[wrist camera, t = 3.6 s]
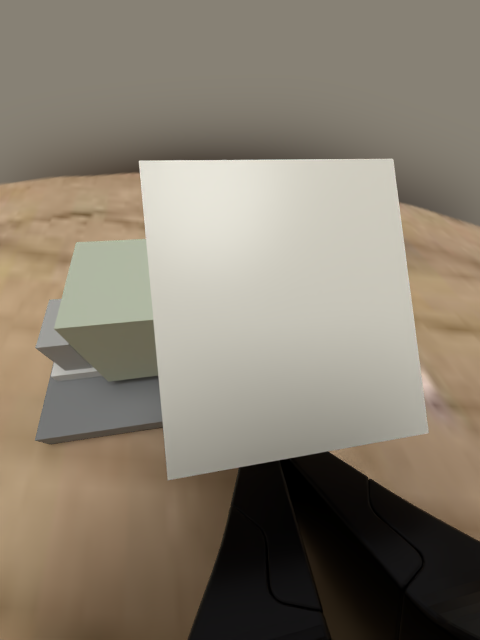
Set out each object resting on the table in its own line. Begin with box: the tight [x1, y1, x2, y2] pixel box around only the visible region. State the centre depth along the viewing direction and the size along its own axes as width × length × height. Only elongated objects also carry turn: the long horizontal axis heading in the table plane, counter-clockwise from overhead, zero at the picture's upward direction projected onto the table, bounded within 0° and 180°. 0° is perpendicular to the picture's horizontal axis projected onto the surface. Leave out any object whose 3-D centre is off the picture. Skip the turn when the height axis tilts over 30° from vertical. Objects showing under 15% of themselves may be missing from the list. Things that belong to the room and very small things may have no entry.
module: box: [139, 159, 429, 480], centre depth 10 cm, size 5×4×12 cm
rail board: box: [35, 239, 163, 444], centre depth 16 cm, size 9×22×8 cm, turn 99°
